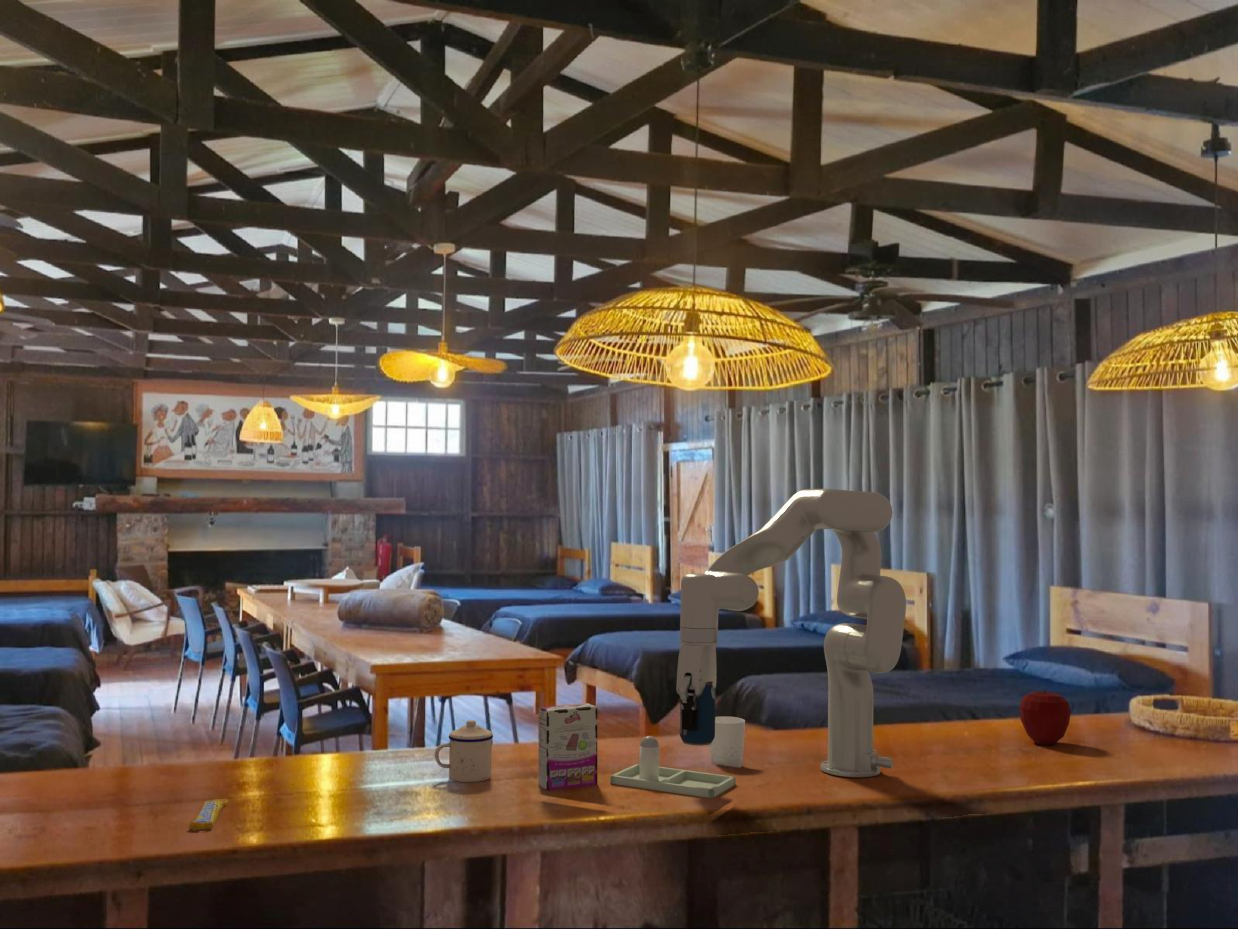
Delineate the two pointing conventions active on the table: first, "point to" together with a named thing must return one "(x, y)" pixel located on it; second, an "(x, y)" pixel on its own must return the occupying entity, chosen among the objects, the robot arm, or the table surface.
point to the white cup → (728, 741)
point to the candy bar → (208, 814)
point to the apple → (1045, 716)
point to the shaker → (649, 759)
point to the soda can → (701, 719)
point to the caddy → (676, 781)
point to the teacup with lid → (468, 753)
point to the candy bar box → (567, 746)
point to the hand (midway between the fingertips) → (697, 726)
